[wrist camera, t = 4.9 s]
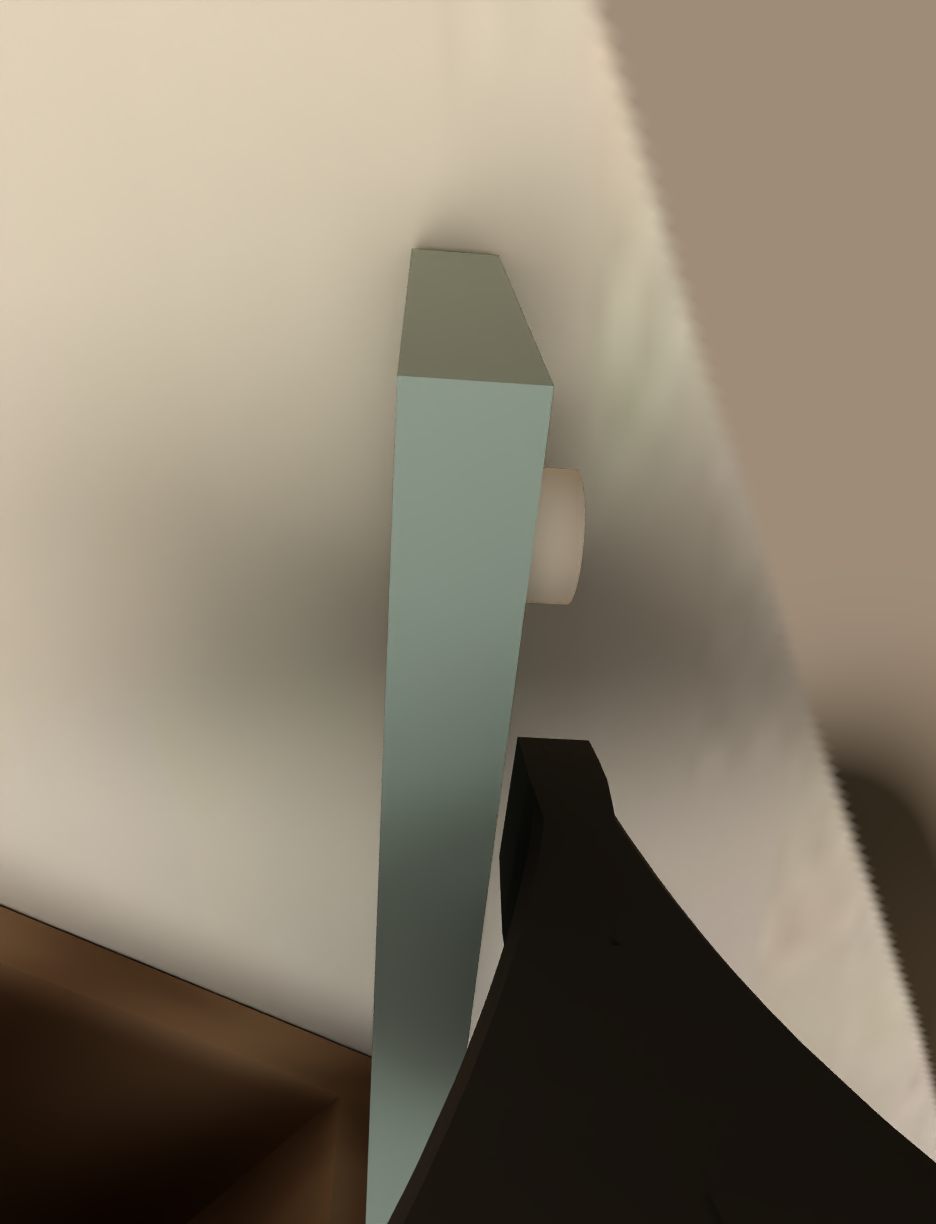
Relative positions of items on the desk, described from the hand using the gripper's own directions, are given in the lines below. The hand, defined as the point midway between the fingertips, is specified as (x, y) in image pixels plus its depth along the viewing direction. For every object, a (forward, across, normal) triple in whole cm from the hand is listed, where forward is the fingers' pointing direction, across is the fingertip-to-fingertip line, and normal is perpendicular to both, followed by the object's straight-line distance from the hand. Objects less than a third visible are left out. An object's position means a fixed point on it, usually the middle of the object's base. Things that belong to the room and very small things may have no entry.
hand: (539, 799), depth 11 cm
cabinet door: (+3, +1, +2) cm, 4 cm away
